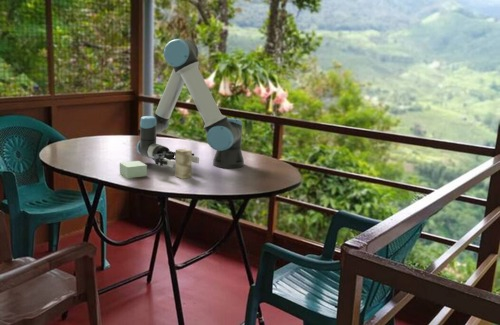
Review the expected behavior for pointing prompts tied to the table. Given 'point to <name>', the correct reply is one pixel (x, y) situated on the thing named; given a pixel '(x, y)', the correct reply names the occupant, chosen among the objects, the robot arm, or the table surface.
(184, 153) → the birch block
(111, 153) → the table surface
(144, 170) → the sage block
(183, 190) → the table surface
